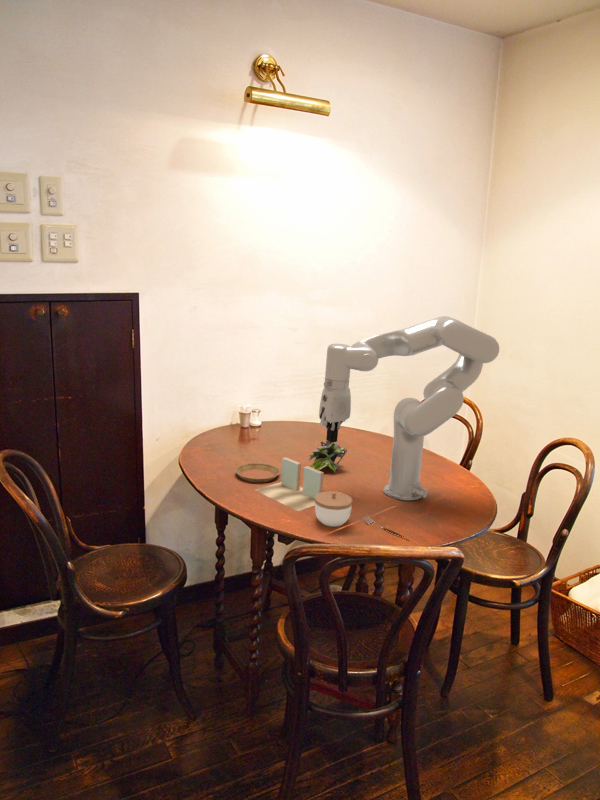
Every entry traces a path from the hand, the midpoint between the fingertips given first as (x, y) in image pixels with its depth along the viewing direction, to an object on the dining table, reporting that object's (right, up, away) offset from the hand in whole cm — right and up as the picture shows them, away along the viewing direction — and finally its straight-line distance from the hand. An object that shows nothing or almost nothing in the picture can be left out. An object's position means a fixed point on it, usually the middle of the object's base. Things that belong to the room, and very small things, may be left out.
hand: (331, 441), depth 195 cm
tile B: (-13, -15, +6) cm, 21 cm away
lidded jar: (-1, -23, -18) cm, 29 cm away
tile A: (-6, -17, -1) cm, 18 cm away
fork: (+14, -24, -20) cm, 35 cm away
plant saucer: (-24, -14, +14) cm, 31 cm away
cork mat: (-12, -17, 0) cm, 21 cm away
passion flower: (0, -12, +24) cm, 27 cm away
